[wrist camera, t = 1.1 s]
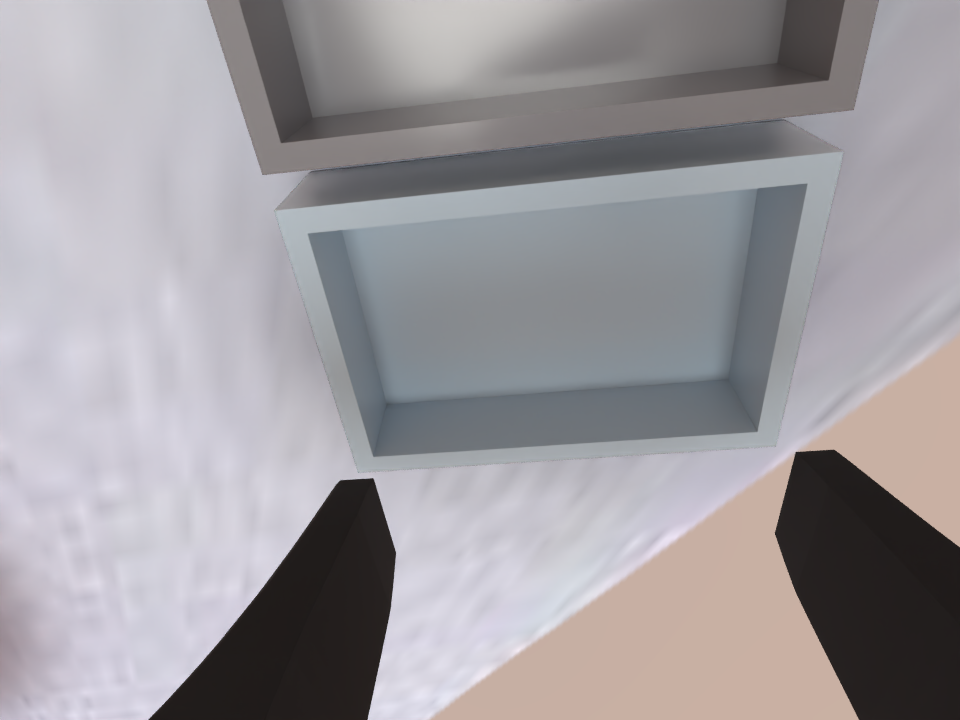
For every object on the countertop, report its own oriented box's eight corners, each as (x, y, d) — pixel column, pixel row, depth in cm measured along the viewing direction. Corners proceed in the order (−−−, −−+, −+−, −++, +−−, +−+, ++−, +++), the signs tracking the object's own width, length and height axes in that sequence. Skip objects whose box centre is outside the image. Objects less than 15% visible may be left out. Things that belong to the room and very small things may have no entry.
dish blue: (784, 119, 14) (843, 151, 12) (739, 383, 19) (776, 446, 16) (310, 171, 15) (274, 210, 13) (375, 410, 20) (358, 472, 18)
